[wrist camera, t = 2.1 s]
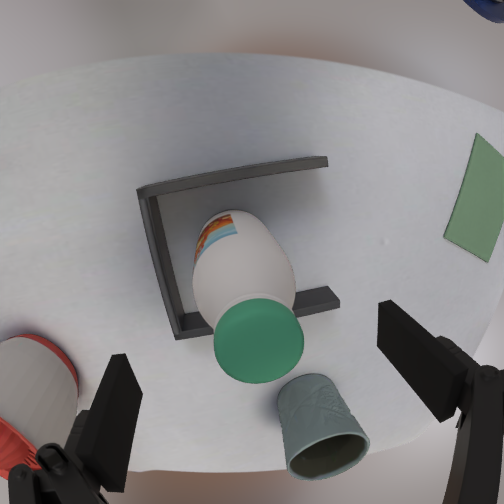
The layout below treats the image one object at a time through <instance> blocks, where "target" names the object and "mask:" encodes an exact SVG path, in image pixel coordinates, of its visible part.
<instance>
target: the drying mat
mask: <svg viewBox="0 0 504 504" xmlns="http://www.w3.org/2000/svg"><path fill="white" fill-rule="evenodd" d="M503 221H504V157H503V156H502V155H501V154H500V153H499V152H498V151H497V150H496V149H494V148H493V147H492V146H491V145H490V144H489V143H488V142H487V141H486V140H485V139H484V138H482V137H481V136H480V135H479V134H478V133H476V136H475V140H474V144H473V148H472V152H471V155H470V159H469V163H468V166H467V169H466V173H465V176H464V179H463V183H462V186H461V189H460V192H459V195H458V198H457V201H456V204H455V207H454V210H453V212H452V215H451V218H450V221H449V223H448V226H447V229H446V231H445V234H444V236H443V237H444V238H446V239H448V240H450V241H451V242H453V243H455V244H457V245H459V246H460V247H462V248H464V249H466V250H467V251H469V252H471V253H472V254H474V255H476V256H478V257H479V258H481V259H483V260H484V261H486V262H489V259H490V257H491V254H492V252H493V249H494V246H495V244H496V241H497V238H498V235H499V233H500V230H501V227H502V224H503Z"/></svg>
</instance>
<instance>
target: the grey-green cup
mask: <svg viewBox="0 0 504 504" xmlns="http://www.w3.org/2000/svg"><path fill="white" fill-rule="evenodd" d="M277 405H278V410H279V417H280V423H281V427H282V434H283V442H284V449H285V457H286V465H287V470H288V472H289V474H290V475H291V476H293V477H294V478H297V479H300V480H307V481H313V480H322V479H327V478H330V477H333V476H336V475H338V474H340V473H343V472H345V471H346V470H348V469H350V468H352V467H353V466H354V465H356V464H357V463H358V462H359V461H361V460H362V458H363V457H364V456H365V455H366V453H367V452H368V449H369V446H370V441H369V438H368V437H367V435H366V434H365V432H364V431H363V429H362V428H361V427H360V425H359V423H358V422H357V420H356V419H355V417H354V416H353V415H351V413H350V409H349V408H348V406H347V405H346V403H345V402H344V400H343V399H342V397H341V396H340V394H339V392H338V390H337V389H336V387H335V385H334V384H333V382H332V381H331V380H330V379H329V378H327V377H325V376H323V375H319V374H308V375H303V376H300V377H298V378H295V379H293V380H292V381H290V382H289V383H288V384H286V385H285V386H284V387H283V389H282V390H281V391H280V393H279V396H278V400H277Z"/></svg>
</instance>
